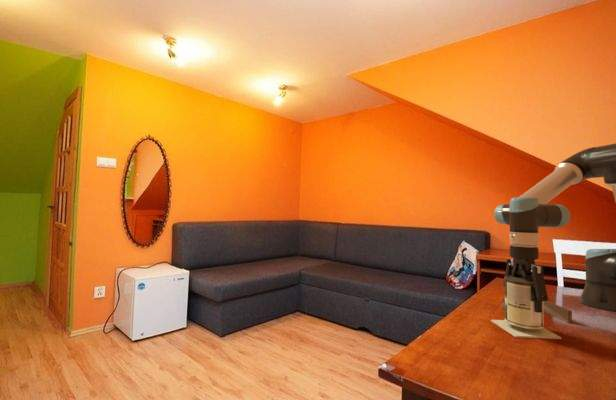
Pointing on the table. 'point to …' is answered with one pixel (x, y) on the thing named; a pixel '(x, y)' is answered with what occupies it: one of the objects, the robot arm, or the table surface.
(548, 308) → the wooden bars
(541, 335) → the mat
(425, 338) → the table surface
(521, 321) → the coffee can
